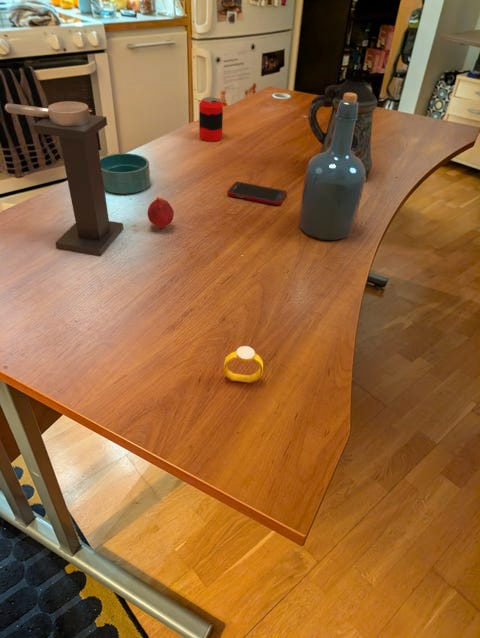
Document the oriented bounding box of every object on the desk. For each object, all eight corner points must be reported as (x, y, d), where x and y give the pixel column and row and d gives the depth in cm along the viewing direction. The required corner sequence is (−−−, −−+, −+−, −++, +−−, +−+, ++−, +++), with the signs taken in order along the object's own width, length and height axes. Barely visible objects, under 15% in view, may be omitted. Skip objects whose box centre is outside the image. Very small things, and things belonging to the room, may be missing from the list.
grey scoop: (-5, 117, 84) (-9, 103, 83) (17, 106, 90) (14, 93, 88) (79, 128, 82) (76, 114, 81) (96, 117, 87) (94, 103, 86)
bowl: (91, 191, 119) (87, 168, 115) (112, 172, 129) (109, 150, 125) (139, 198, 117) (137, 176, 113) (157, 178, 127) (156, 157, 123)
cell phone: (279, 206, 118) (280, 203, 117) (226, 195, 121) (226, 192, 120) (287, 194, 123) (287, 191, 123) (235, 184, 127) (235, 181, 126)
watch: (222, 384, 71) (223, 357, 67) (223, 371, 73) (225, 344, 69) (261, 387, 71) (264, 360, 67) (261, 374, 73) (264, 347, 69)
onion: (178, 226, 108) (177, 194, 103) (165, 236, 104) (163, 204, 98) (157, 219, 109) (155, 188, 104) (143, 230, 105) (140, 197, 100)
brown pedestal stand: (56, 248, 98) (27, 127, 81) (83, 222, 107) (62, 108, 90) (100, 256, 96) (80, 134, 80) (123, 228, 105) (109, 114, 89)
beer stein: (380, 181, 134) (404, 88, 118) (321, 187, 128) (338, 90, 112) (351, 159, 146) (369, 72, 130) (295, 165, 140) (308, 74, 124)
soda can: (205, 143, 150) (206, 104, 142) (195, 135, 155) (195, 97, 147) (226, 140, 153) (227, 101, 145) (215, 133, 158) (216, 95, 150)
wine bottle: (349, 247, 104) (382, 107, 85) (292, 236, 107) (312, 97, 88) (355, 220, 115) (386, 90, 95) (303, 210, 117) (323, 81, 98)
